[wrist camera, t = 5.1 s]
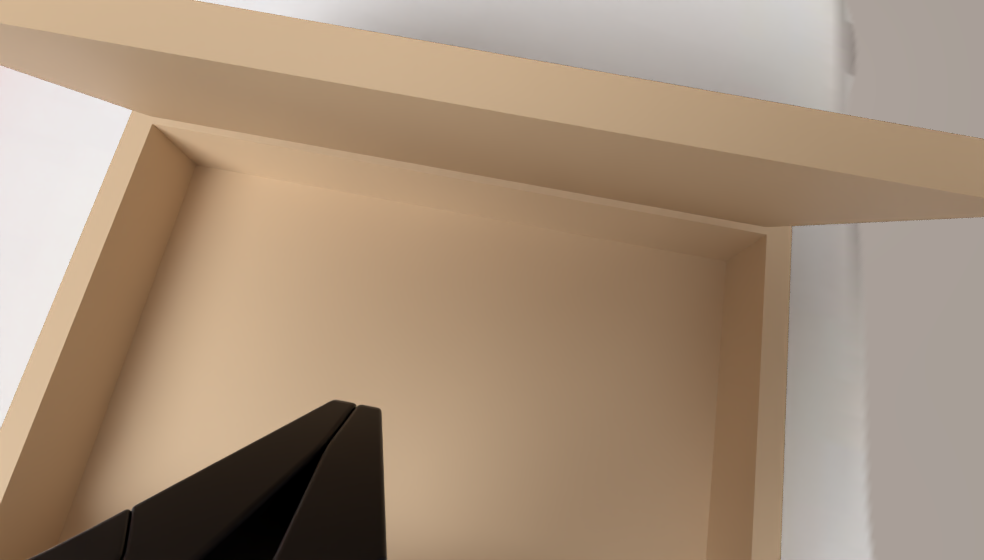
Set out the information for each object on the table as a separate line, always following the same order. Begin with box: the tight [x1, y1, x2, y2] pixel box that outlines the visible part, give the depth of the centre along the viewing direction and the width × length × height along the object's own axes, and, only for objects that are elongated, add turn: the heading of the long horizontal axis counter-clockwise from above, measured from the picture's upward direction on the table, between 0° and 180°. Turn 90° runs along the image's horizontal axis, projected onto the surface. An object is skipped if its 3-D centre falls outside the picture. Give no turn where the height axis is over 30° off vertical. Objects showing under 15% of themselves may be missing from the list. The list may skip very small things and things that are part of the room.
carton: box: [0, 110, 792, 560], centre depth 17 cm, size 16×22×4 cm
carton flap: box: [0, 0, 984, 227], centre depth 12 cm, size 1×20×9 cm, turn 79°
